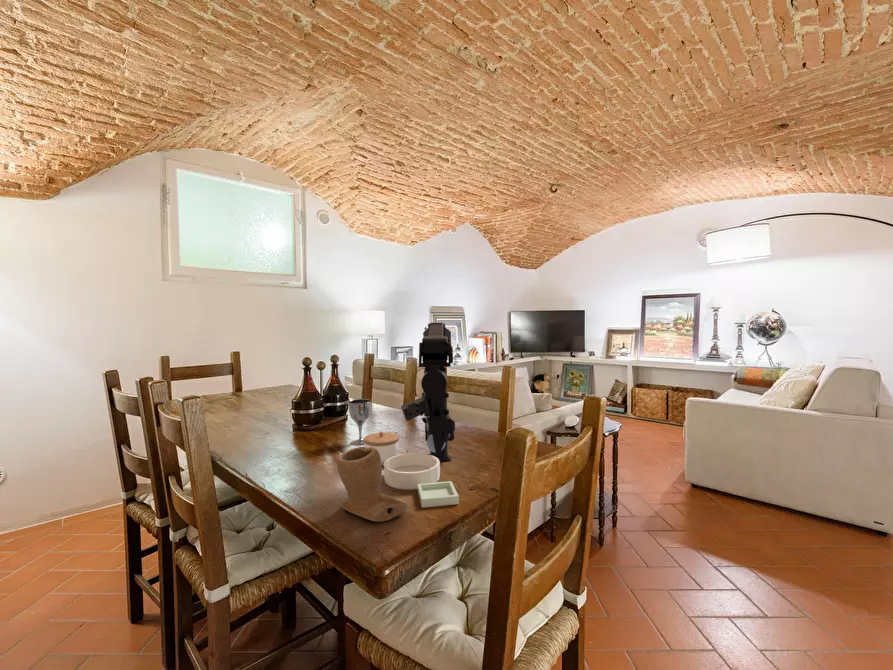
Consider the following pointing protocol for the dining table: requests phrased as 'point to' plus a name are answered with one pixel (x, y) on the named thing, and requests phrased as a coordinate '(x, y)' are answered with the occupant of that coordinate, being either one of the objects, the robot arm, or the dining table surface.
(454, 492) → the tray
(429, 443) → the ball
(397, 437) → the lidded jar
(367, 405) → the wine glass
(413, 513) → the dining table surface
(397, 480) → the bowl
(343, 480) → the tan boot vase
